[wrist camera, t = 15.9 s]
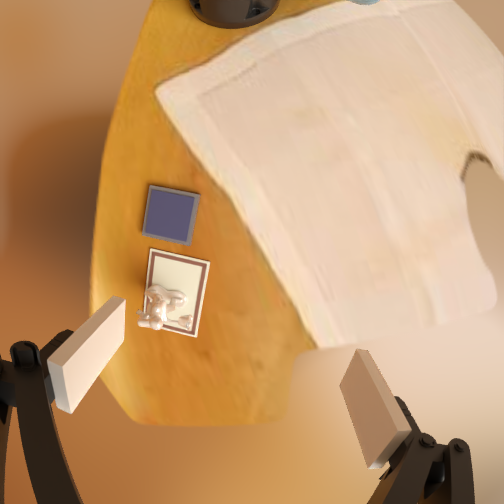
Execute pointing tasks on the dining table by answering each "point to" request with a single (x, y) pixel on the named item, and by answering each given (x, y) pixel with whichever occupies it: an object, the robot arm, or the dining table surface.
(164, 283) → the print sheet
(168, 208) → the ink pad
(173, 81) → the dining table surface
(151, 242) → the dining table surface
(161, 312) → the figurine
